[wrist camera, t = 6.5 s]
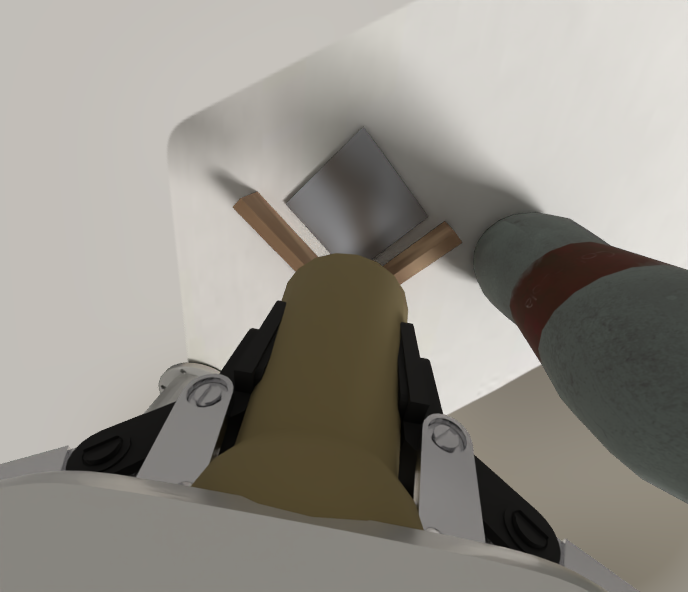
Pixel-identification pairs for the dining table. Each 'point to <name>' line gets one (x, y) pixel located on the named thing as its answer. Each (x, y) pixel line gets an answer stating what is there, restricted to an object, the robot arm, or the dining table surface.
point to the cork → (327, 402)
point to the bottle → (600, 335)
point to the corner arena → (352, 213)
